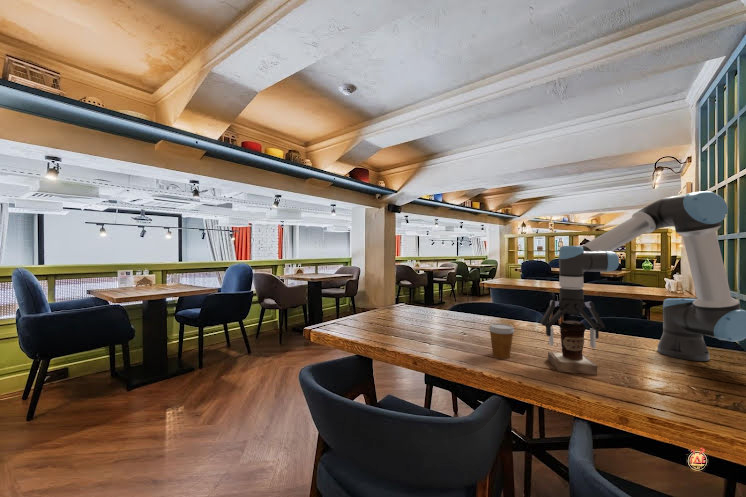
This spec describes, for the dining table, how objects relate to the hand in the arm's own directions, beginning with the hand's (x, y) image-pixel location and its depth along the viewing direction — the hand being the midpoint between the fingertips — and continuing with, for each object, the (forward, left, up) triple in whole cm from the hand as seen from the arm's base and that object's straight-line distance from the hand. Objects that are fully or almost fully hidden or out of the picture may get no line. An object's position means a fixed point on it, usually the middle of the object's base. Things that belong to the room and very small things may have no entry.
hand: (571, 346), depth 115 cm
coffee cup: (0, 0, -4) cm, 4 cm away
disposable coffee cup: (+23, -6, -8) cm, 25 cm away
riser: (0, 0, -7) cm, 8 cm away
